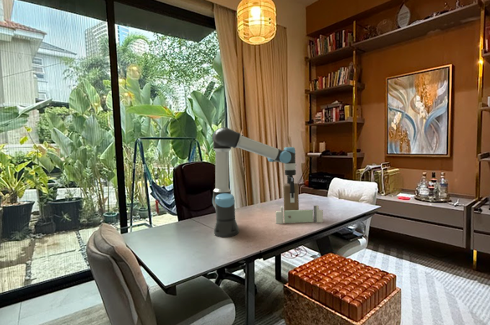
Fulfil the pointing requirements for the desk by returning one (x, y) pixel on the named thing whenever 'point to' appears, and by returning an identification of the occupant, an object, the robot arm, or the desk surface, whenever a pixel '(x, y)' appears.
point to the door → (298, 216)
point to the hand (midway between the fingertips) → (291, 200)
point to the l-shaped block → (317, 215)
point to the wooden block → (287, 204)
